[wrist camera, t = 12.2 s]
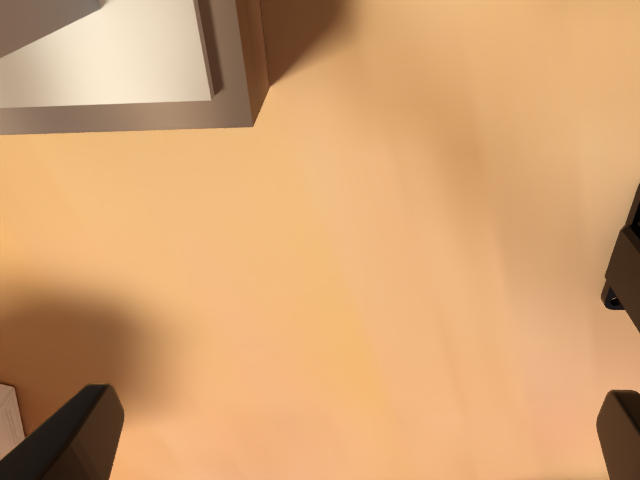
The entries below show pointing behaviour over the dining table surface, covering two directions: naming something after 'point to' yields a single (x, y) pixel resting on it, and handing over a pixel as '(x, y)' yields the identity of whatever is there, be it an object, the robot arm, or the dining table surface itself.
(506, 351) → the dining table surface
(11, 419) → the supplement box
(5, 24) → the grey striped cube
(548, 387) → the dining table surface
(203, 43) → the stand
